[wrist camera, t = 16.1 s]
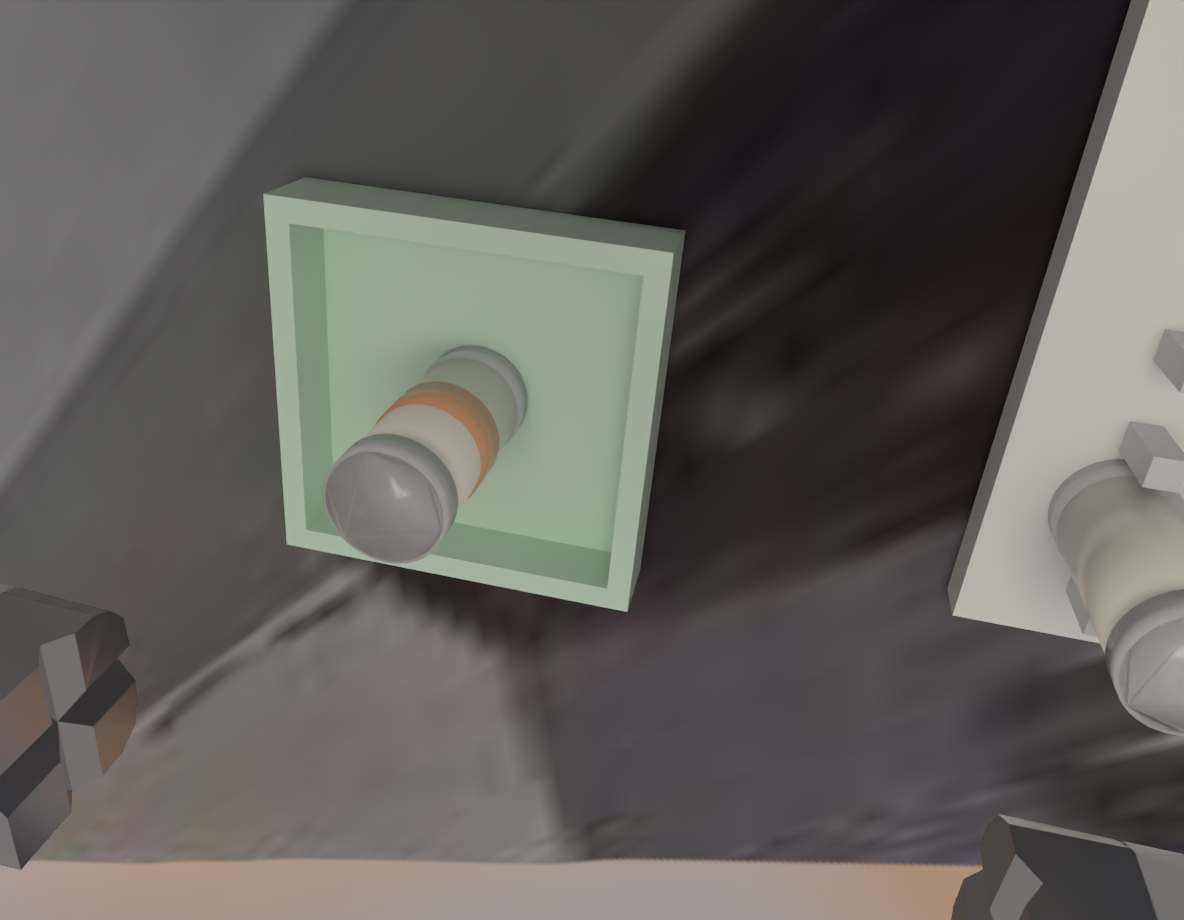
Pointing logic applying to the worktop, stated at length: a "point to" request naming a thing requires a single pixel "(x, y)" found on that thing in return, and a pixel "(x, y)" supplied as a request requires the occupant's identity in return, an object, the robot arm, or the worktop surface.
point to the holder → (1093, 342)
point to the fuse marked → (425, 456)
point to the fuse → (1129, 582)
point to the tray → (490, 320)
